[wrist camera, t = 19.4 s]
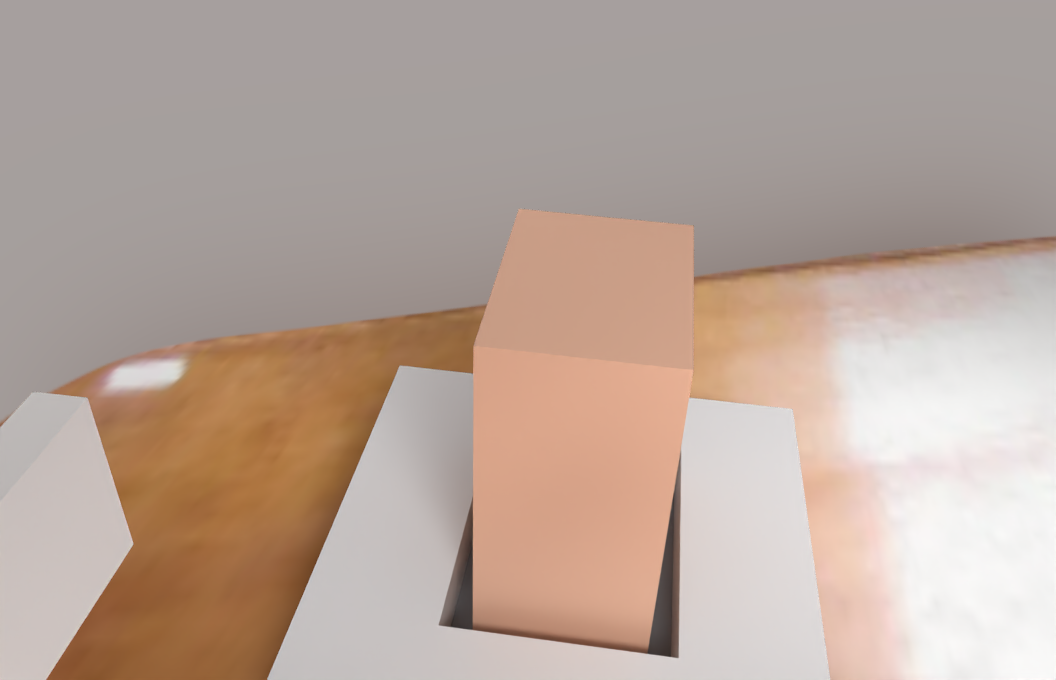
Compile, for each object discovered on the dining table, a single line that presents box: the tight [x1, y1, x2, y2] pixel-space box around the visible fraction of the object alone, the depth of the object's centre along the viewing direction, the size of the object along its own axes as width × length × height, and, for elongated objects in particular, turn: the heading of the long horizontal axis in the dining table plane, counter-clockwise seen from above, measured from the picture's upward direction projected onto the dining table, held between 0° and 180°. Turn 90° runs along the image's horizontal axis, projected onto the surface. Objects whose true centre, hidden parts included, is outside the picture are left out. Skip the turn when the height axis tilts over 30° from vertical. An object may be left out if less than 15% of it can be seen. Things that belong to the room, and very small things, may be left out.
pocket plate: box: [267, 366, 830, 680], centre depth 31 cm, size 15×15×2 cm
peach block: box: [473, 209, 694, 654], centre depth 28 cm, size 5×7×11 cm
